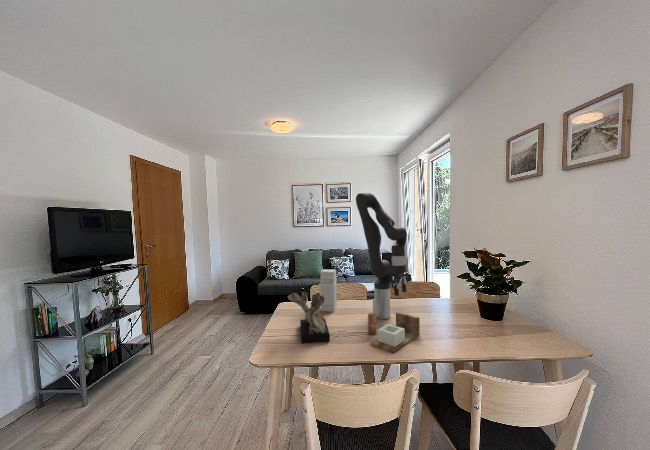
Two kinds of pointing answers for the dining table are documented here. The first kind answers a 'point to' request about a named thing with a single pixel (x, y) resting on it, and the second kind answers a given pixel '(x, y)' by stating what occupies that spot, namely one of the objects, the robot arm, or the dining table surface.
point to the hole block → (391, 335)
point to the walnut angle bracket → (411, 332)
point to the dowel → (372, 323)
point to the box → (328, 290)
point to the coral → (311, 319)
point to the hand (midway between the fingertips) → (400, 293)
